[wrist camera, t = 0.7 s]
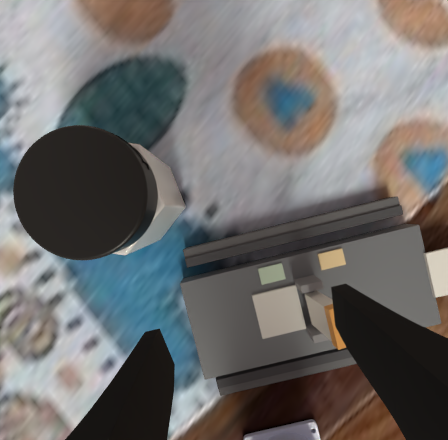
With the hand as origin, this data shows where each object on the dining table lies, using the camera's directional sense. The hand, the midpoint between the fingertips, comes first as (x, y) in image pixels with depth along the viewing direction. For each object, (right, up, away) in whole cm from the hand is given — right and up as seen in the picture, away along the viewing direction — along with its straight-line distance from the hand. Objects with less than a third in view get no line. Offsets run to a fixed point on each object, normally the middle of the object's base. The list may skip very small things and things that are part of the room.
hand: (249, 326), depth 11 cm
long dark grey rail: (+6, +3, +17) cm, 18 cm away
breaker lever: (+7, -4, +14) cm, 16 cm away
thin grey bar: (+9, -10, +17) cm, 22 cm away
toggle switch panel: (+10, -3, +17) cm, 20 cm away
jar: (-9, +6, +17) cm, 20 cm away
